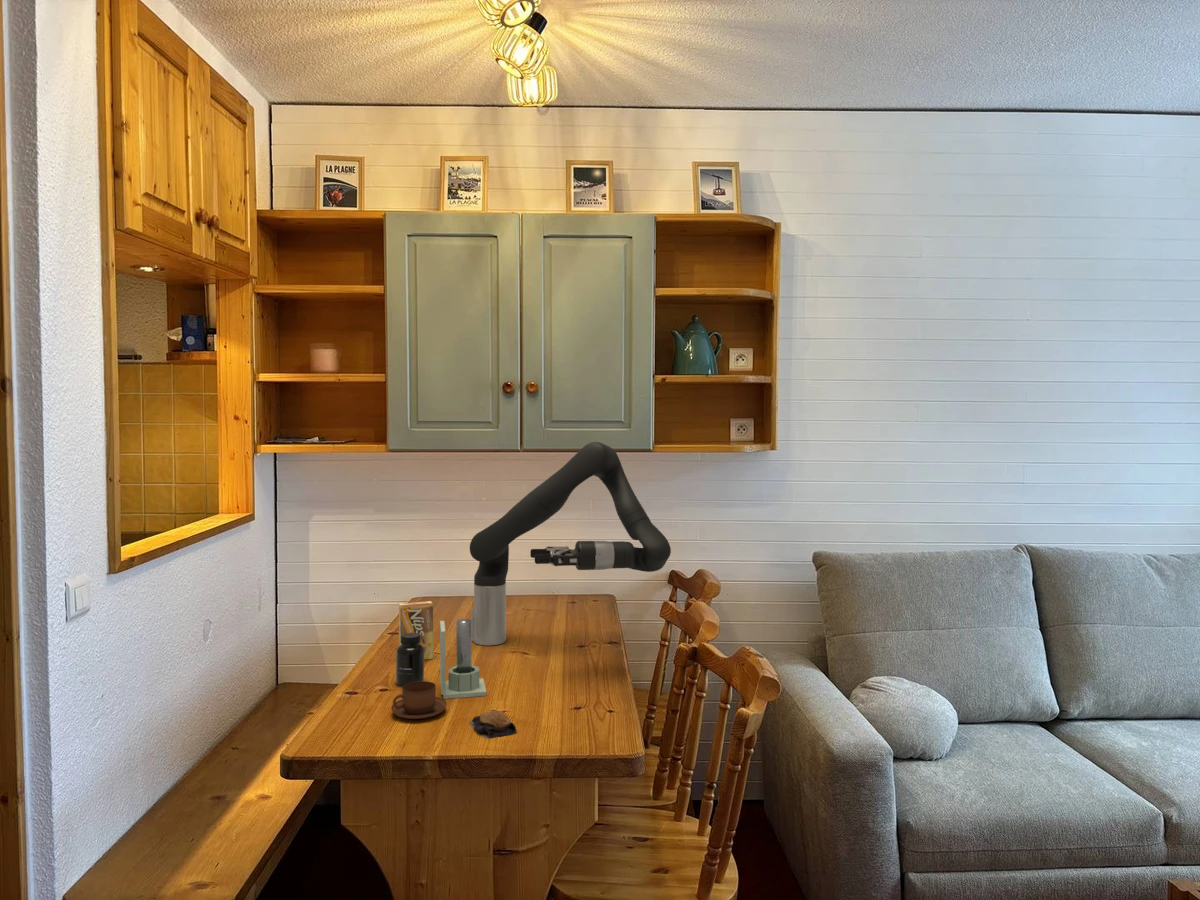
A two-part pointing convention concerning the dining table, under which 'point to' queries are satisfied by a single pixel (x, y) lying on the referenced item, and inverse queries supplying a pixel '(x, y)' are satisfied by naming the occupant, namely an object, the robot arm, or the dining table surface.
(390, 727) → the dining table surface
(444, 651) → the cup bracket
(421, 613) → the candy box
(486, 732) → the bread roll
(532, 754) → the dining table surface
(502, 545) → the robot arm
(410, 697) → the cup and saucer
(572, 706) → the dining table surface
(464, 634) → the silver metal cylinder
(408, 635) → the supplement bottle
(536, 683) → the dining table surface
